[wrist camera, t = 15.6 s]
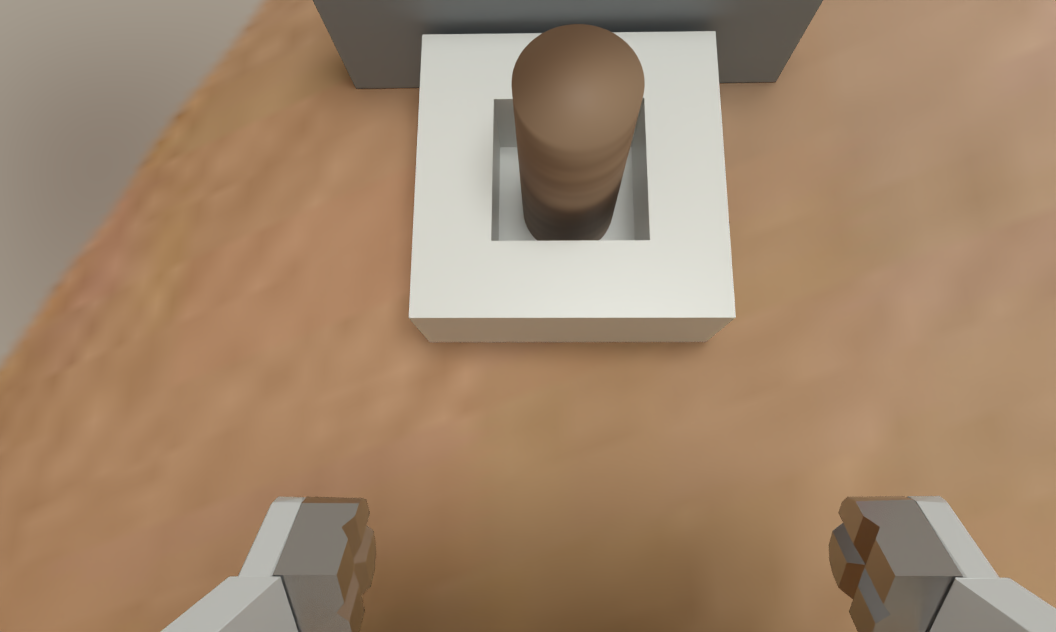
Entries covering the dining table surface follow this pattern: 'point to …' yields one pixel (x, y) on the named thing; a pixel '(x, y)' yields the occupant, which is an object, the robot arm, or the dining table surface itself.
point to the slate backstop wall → (545, 3)
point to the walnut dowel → (574, 128)
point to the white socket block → (569, 266)
